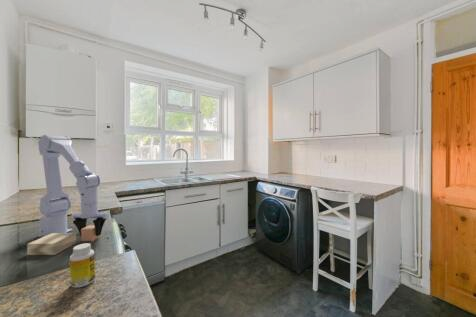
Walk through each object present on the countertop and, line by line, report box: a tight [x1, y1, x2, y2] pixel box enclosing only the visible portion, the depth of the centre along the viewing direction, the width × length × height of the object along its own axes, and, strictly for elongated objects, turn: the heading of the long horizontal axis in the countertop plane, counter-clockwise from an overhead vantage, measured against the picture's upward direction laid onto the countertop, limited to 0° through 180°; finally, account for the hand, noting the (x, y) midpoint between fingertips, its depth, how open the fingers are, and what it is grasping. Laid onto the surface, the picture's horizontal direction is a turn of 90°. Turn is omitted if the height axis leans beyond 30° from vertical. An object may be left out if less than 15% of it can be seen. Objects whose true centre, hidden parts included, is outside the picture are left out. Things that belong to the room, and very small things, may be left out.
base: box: [26, 232, 77, 256], centre depth 81 cm, size 10×10×4 cm
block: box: [80, 224, 101, 242], centre depth 90 cm, size 5×5×5 cm
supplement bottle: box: [69, 242, 96, 289], centre depth 59 cm, size 6×6×10 cm
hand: (90, 235), depth 90 cm, fingers open, 6 cm apart
